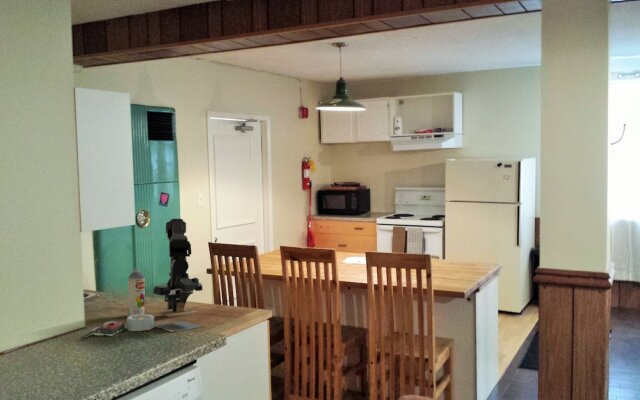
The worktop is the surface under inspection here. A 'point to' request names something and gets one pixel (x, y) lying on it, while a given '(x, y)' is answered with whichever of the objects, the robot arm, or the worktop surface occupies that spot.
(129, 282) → the aerosol can
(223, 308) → the worktop surface
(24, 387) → the worktop surface
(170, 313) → the lid
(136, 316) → the bowl
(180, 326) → the mat
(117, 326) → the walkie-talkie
